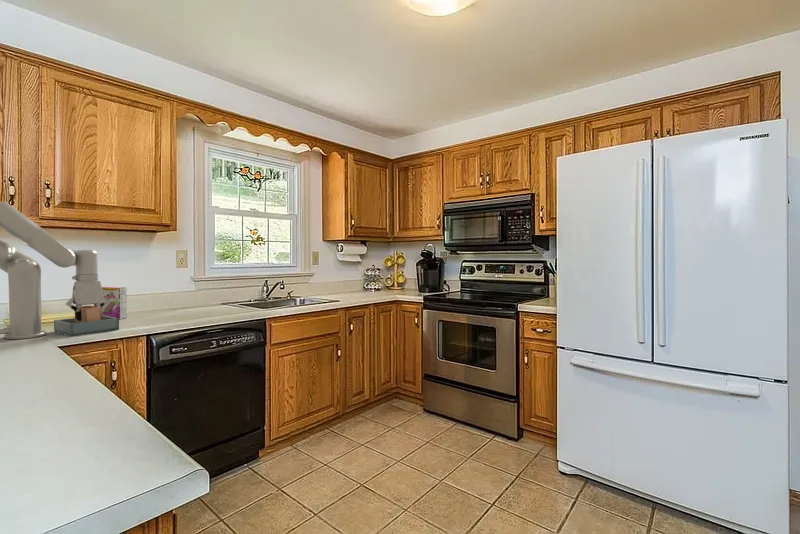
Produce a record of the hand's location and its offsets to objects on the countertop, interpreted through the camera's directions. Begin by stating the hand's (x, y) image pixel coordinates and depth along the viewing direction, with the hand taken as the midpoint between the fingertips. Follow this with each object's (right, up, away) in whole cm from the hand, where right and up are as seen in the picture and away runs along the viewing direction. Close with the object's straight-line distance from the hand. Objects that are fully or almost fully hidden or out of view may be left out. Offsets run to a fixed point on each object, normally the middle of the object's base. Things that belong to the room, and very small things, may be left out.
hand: (88, 318), depth 178 cm
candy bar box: (-11, -4, +31) cm, 33 cm away
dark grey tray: (0, -5, 0) cm, 5 cm away
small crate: (0, -2, 0) cm, 2 cm away
